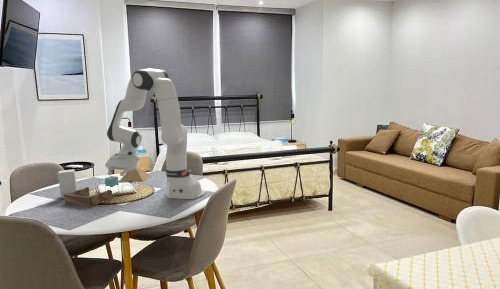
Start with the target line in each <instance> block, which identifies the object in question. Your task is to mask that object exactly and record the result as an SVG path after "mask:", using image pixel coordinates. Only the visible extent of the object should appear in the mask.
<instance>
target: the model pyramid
mask: <svg viewBox="0 0 500 289" xmlns="http://www.w3.org/2000/svg"><path fill="white" fill-rule="evenodd" d="M149 177H151V174H149V173H148V172H146V171H144V170H143V169H141V167H138V166H137V165H136V167H135V169H134V170H133V171H131V170H128V172H126V173H125V174H124V176H121V178H120V179H119V180H118V183H134V182H135V183H136V182H137V183H138V182H145V181H146V179H149Z"/></svg>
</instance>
